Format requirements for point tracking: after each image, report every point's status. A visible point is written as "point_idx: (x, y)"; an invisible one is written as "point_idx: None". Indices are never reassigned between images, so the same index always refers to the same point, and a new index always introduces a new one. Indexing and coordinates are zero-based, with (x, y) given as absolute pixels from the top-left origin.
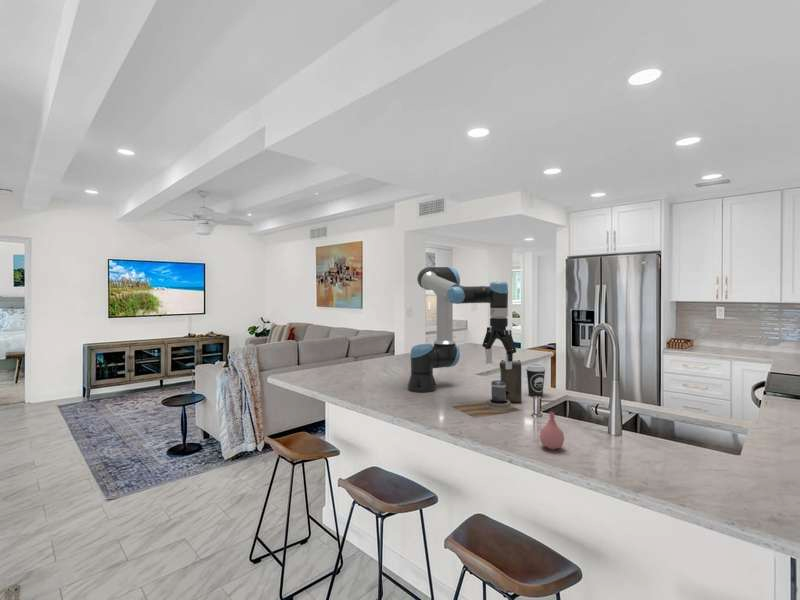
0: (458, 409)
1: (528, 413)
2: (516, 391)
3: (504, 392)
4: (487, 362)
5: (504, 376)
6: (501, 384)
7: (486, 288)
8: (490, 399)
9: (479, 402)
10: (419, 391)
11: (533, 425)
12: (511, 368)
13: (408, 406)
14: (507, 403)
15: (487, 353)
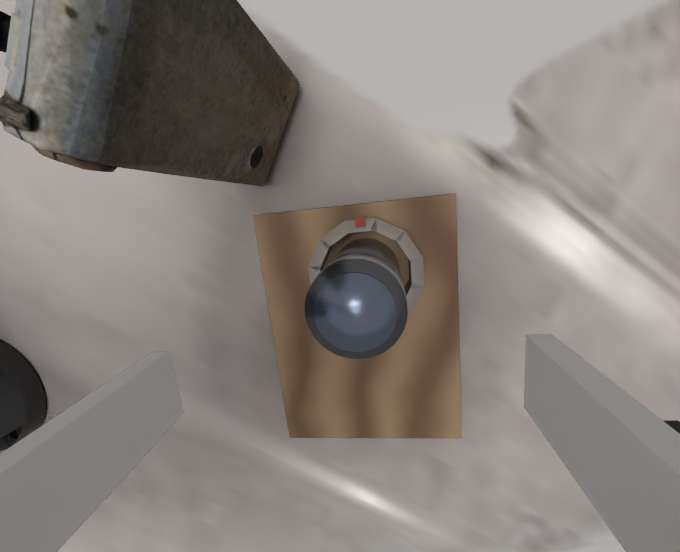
0: (335, 434)
1: (461, 160)
2: (272, 95)
3: (400, 277)
4: (174, 415)
5: (192, 153)
6: (406, 318)
7: None
8: None
9: (270, 309)
10: (40, 421)
11: (617, 250)
12: (554, 342)
13: (211, 523)
14: (415, 257)
15: (77, 520)
